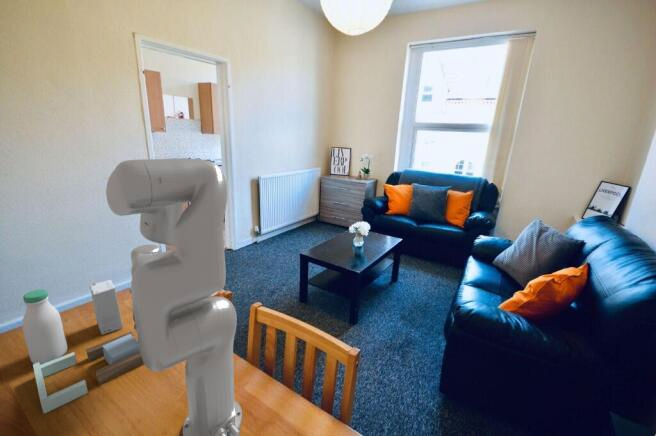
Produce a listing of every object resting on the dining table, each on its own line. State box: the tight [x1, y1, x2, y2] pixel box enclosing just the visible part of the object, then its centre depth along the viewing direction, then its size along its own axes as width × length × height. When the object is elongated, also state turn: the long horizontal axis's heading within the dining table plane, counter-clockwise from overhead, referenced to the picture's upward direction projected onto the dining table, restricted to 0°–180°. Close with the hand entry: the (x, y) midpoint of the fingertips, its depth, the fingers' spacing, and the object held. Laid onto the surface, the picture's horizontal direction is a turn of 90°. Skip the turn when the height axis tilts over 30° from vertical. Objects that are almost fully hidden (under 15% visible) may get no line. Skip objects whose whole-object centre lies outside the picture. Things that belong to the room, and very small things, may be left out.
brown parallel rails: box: [85, 331, 145, 385], centre depth 83 cm, size 13×11×3 cm
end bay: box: [32, 351, 89, 415], centre depth 74 cm, size 15×8×4 cm, turn 48°
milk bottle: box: [21, 289, 68, 365], centre depth 81 cm, size 8×8×20 cm
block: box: [103, 334, 140, 365], centre depth 84 cm, size 7×7×4 cm
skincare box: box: [89, 279, 124, 336], centre depth 95 cm, size 8×6×15 cm
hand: (156, 339), depth 90 cm, fingers closed
